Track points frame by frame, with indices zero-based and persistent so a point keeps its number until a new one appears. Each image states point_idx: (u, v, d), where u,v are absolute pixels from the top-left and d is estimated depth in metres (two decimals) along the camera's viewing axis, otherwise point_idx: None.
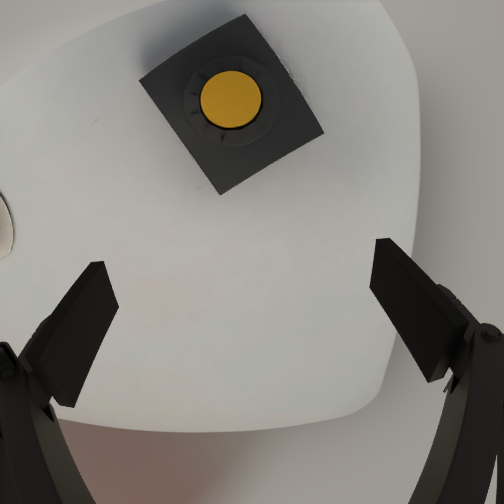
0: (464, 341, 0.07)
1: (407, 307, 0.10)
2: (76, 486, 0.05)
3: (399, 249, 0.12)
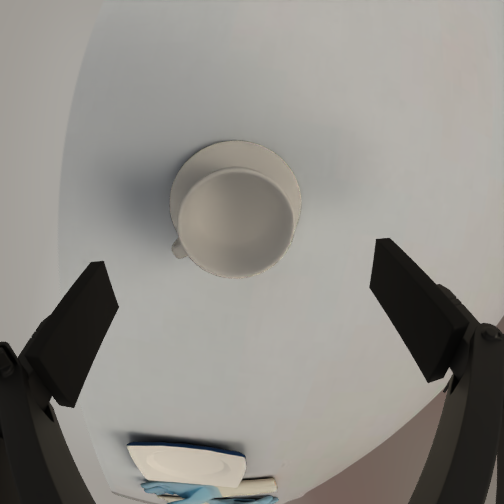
0: (464, 341, 0.07)
1: (407, 307, 0.10)
2: (76, 486, 0.05)
3: (399, 249, 0.12)
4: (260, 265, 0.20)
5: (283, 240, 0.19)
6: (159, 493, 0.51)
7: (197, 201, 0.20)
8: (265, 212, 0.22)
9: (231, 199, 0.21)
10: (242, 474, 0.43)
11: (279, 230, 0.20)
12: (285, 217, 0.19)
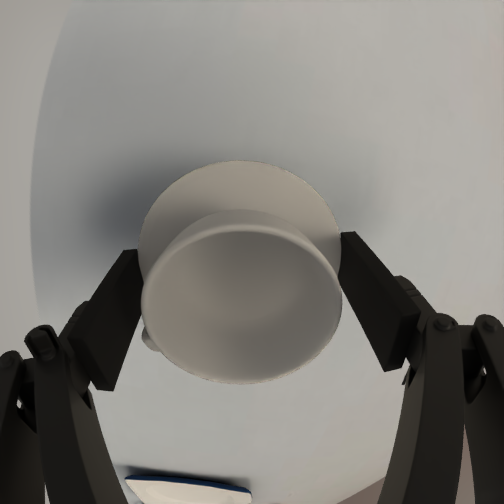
0: (417, 330, 0.08)
1: (365, 297, 0.11)
2: (108, 478, 0.05)
3: (362, 242, 0.13)
4: (279, 364, 0.12)
5: (318, 332, 0.12)
6: None
7: (178, 263, 0.13)
8: (287, 276, 0.14)
9: (233, 256, 0.14)
10: None
11: (311, 311, 0.13)
12: (323, 296, 0.11)
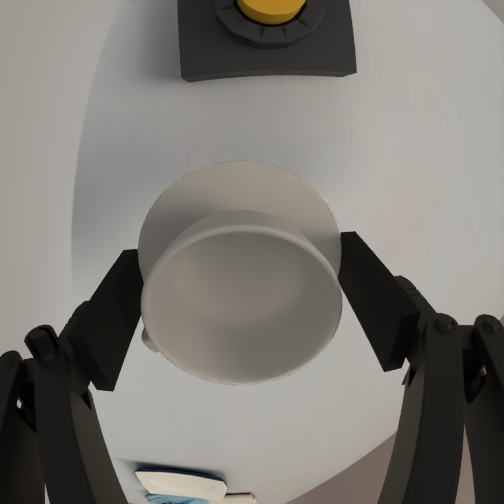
0: (417, 330, 0.08)
1: (365, 297, 0.11)
2: (108, 478, 0.05)
3: (361, 242, 0.13)
4: (279, 365, 0.12)
5: (318, 333, 0.12)
6: (160, 502, 0.60)
7: (178, 263, 0.13)
8: (287, 277, 0.14)
9: (233, 256, 0.14)
10: (224, 491, 0.51)
11: (311, 311, 0.12)
12: (323, 297, 0.11)
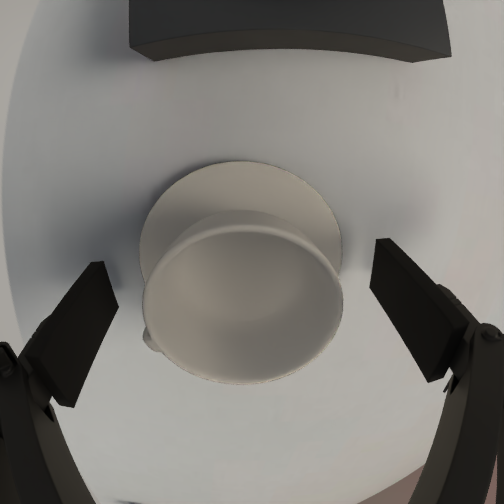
0: (464, 341, 0.07)
1: (407, 307, 0.10)
2: (76, 486, 0.05)
3: (399, 249, 0.12)
4: (280, 365, 0.12)
5: (319, 332, 0.12)
6: None
7: (179, 263, 0.13)
8: (288, 277, 0.14)
9: (234, 256, 0.14)
10: None
11: (312, 311, 0.13)
12: (324, 297, 0.11)
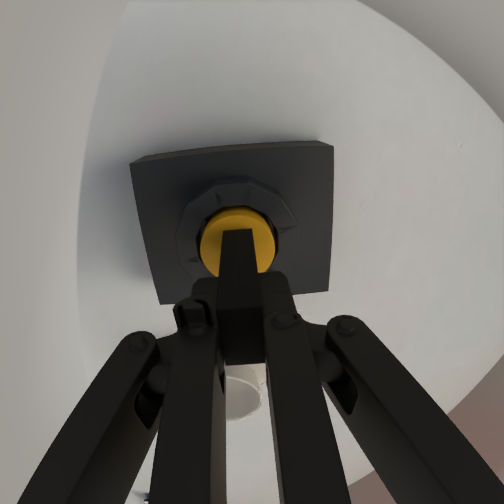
0: (262, 325, 0.09)
1: None
2: (221, 473, 0.06)
3: (250, 238, 0.14)
4: (238, 413, 0.25)
5: (254, 403, 0.25)
6: None
7: None
8: None
9: None
10: None
11: (253, 392, 0.25)
12: None
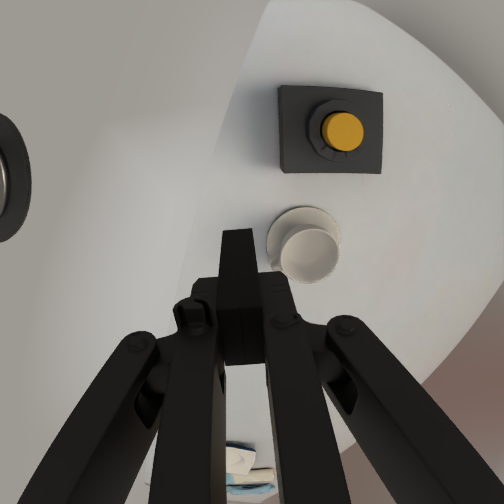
0: (262, 325, 0.09)
1: None
2: (221, 473, 0.06)
3: (250, 238, 0.14)
4: (319, 276, 0.37)
5: (332, 264, 0.36)
6: None
7: None
8: (321, 247, 0.38)
9: (303, 239, 0.38)
10: (252, 464, 0.66)
11: (329, 258, 0.37)
12: (334, 252, 0.36)
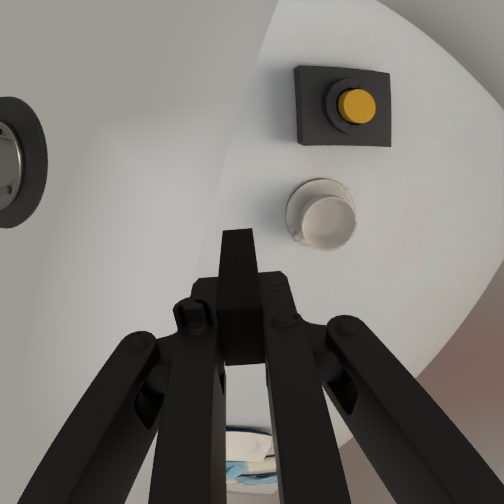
0: (262, 325, 0.09)
1: None
2: (221, 473, 0.06)
3: (250, 238, 0.14)
4: (337, 244, 0.38)
5: (349, 232, 0.38)
6: None
7: None
8: (337, 217, 0.40)
9: (320, 210, 0.40)
10: (267, 450, 0.68)
11: (346, 227, 0.39)
12: (350, 220, 0.37)
